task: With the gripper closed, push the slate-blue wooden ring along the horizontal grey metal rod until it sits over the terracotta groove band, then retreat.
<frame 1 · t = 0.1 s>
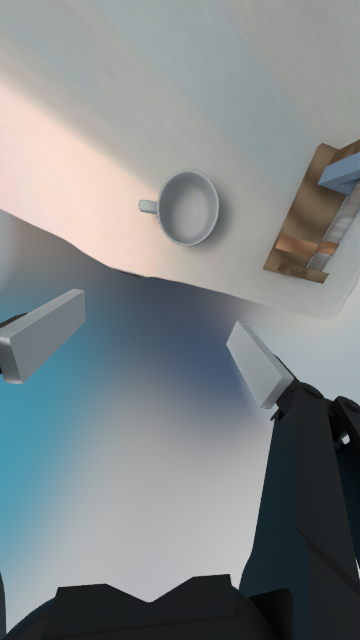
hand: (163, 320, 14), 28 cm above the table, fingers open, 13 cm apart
teacup: (177, 213, 34), on the table
wooden rod stand: (306, 222, 36), on the table
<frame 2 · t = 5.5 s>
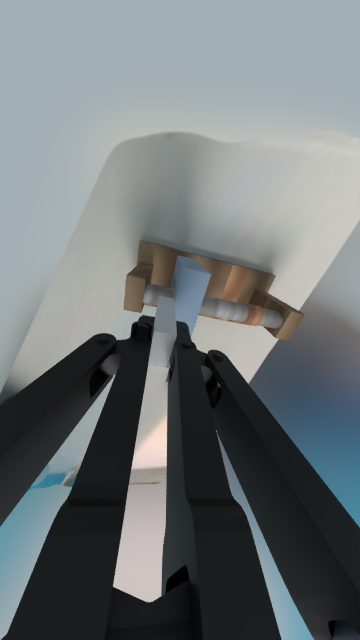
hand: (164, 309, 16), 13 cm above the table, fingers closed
wooden rod stand: (202, 287, 29), on the table
ring: (180, 300, 20), point 9 cm above the table, slide at -4.6 cm, touching gripper
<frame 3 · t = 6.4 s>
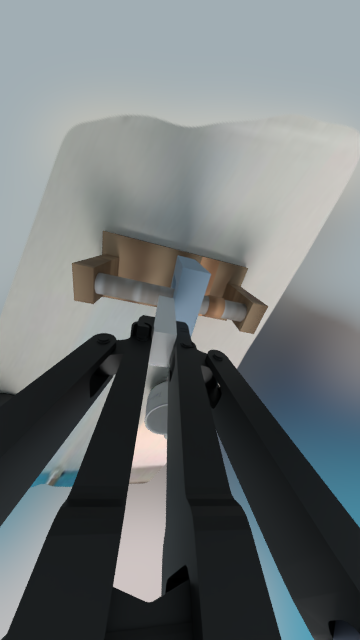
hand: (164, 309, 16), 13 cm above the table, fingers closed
teacup: (168, 393, 41), on the table
wooden rod stand: (173, 281, 28), on the table
ring: (180, 300, 20), point 9 cm above the table, slide at 0.7 cm, touching gripper
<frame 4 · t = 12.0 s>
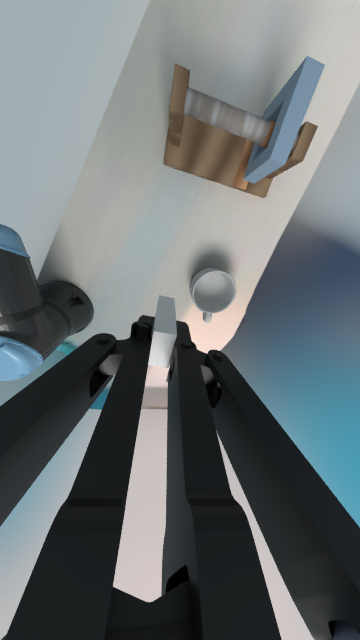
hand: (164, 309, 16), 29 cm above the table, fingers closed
teacup: (205, 290, 46), on the table
wooden rod stand: (224, 151, 33), on the table
ring: (273, 136, 25), point 9 cm above the table, slide at 5.4 cm
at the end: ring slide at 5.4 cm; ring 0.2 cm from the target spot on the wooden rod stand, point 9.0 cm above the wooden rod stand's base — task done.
